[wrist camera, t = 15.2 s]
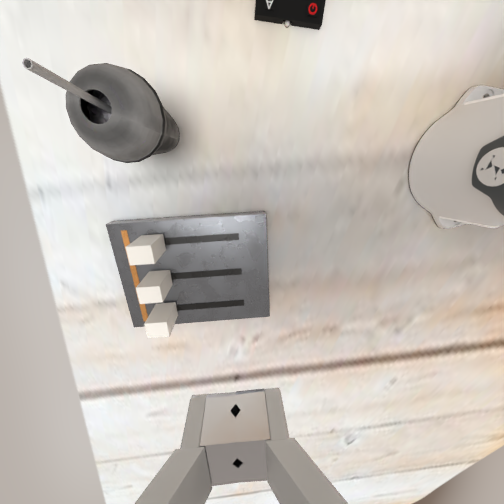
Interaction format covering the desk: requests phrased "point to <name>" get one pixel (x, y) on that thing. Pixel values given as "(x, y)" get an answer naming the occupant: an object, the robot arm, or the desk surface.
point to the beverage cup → (115, 111)
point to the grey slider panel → (200, 265)
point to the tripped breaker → (161, 320)
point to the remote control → (291, 12)
